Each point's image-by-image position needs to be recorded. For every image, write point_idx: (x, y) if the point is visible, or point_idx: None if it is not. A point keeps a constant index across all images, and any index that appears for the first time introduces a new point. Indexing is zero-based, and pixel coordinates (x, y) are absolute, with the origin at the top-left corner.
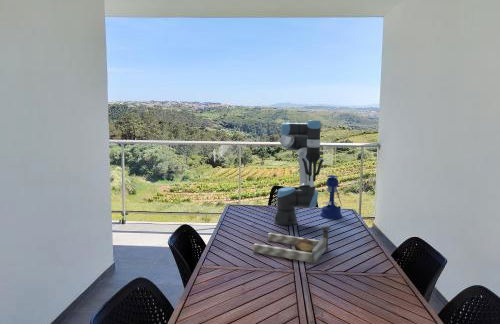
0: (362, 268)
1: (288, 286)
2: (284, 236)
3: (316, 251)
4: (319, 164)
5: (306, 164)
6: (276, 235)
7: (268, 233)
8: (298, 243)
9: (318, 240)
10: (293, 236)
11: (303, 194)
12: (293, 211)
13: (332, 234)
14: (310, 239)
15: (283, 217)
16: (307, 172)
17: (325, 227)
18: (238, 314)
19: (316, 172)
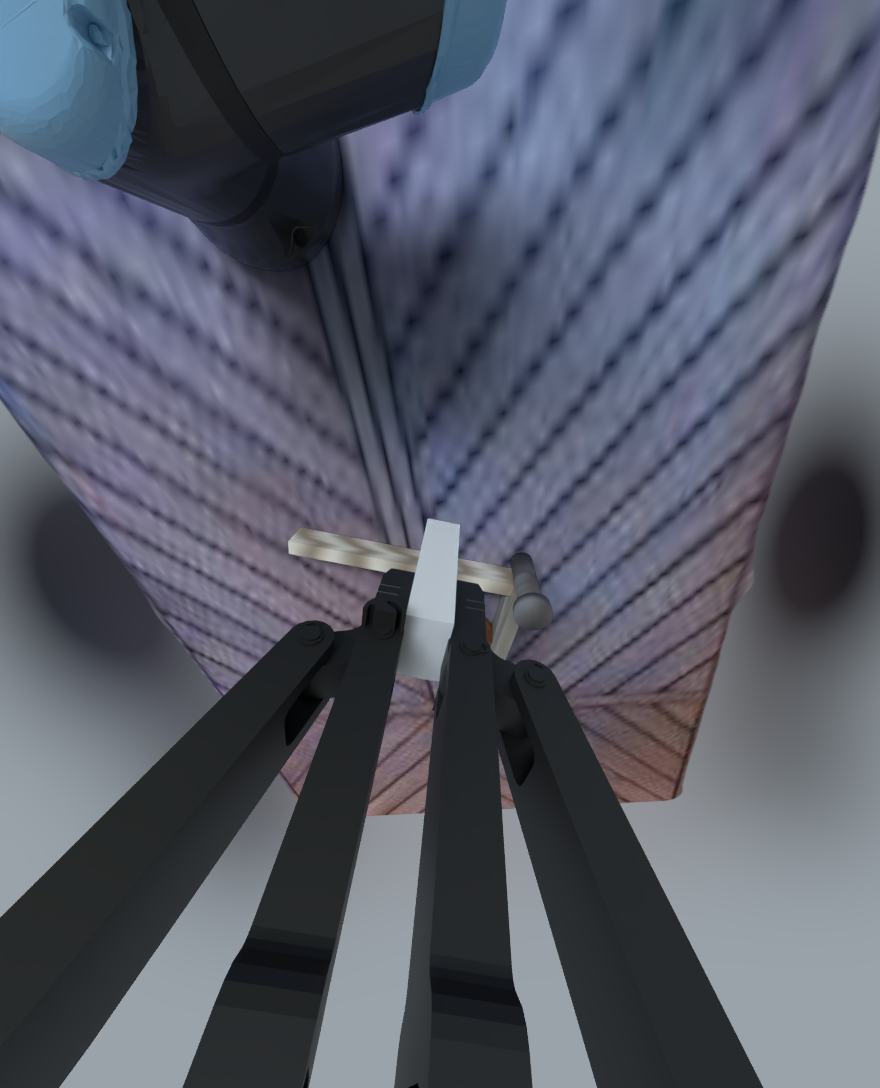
0: (613, 678)
1: None
2: (361, 566)
3: None
4: (614, 1063)
5: (154, 912)
6: (327, 559)
7: (290, 552)
8: None
9: (497, 584)
10: (395, 563)
11: (297, 40)
12: (281, 158)
13: (576, 378)
14: (466, 580)
15: (246, 249)
16: (319, 712)
17: (530, 625)
18: (383, 809)
19: (501, 757)
